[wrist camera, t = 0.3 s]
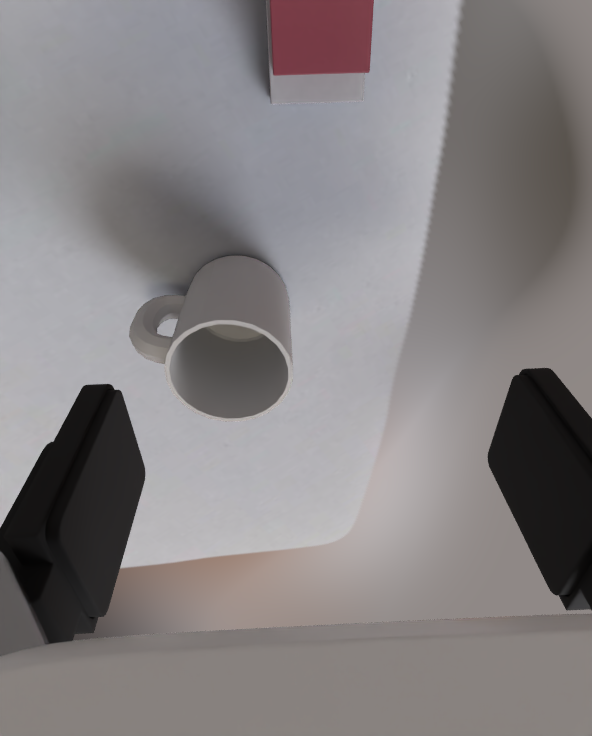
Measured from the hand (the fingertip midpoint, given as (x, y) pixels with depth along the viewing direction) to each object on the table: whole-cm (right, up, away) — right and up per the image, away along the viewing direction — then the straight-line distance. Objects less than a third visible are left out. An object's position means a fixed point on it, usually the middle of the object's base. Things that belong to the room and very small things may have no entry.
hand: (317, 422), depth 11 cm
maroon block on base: (0, +20, +12) cm, 23 cm away
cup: (-6, +6, +22) cm, 24 cm away
